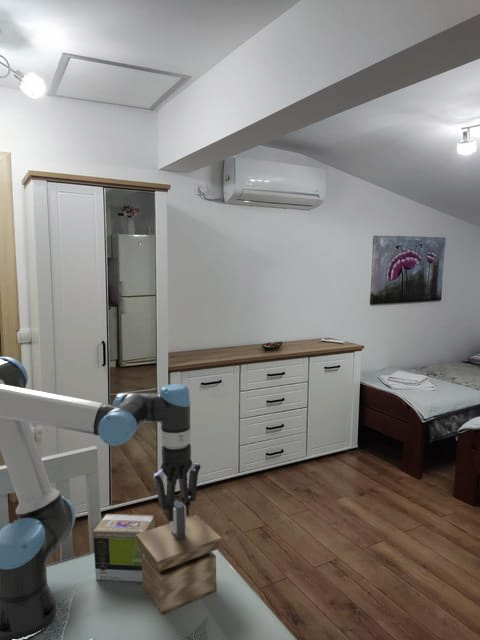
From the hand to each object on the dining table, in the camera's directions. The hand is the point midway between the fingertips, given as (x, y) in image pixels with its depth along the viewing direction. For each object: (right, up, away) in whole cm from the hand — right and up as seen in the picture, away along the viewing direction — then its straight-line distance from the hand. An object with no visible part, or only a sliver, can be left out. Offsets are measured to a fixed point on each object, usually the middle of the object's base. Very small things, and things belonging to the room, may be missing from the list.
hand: (178, 529), depth 126 cm
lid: (0, -5, 0) cm, 5 cm away
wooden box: (0, -17, +2) cm, 17 cm away
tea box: (-16, -17, +10) cm, 25 cm away
